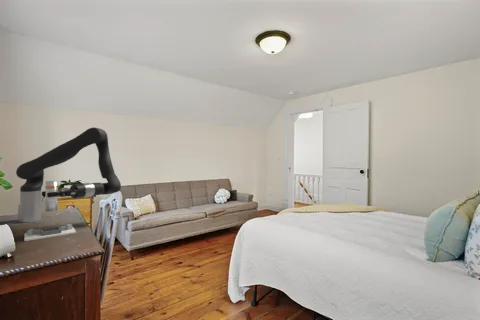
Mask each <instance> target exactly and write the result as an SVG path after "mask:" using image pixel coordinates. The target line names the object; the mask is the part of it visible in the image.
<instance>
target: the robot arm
mask: <svg viewBox="0 0 480 320" xmlns="http://www.w3.org/2000/svg"><path fill="white" fill-rule="evenodd" d="M108 137H109V136H108V133H107V132H106V130H104V129H103V128H98V127H90V128H88V129H86V130H85V131H83V132H81V134H79V135H77V136H75V137H73V138H72V139H70V140H67V141H65V142H64V143H62V144H60V145H58V146H56V147H54V148H52V149H51V150H49V151H47V152H45V153H44V154H42V155H40V156H38V157H36V158H34V159H32V160H29V161H27V162H25V163H22V164H20V165H19V166H18V167H17V169H16V170H15V171H16V172H15V173H16V176H17V178H20V179H22V180H25V182H24V184H22V185H21V186H20V190H19V191H20V195H19V200H20V201H19V204H18V205H17V206H18V209H17V210H18V213H17V214H18V215H17V218H18V219H17V222H19V223H30V222H31V223H32V222H37V221H41V219H42V218H41V217H42V197H45V190H44V191H42V187H43V185H44V179H45V178H44V177H45V172H44V170H45V169H48V168H52V167H54V166H57V165H58V166H59V165H61V164H63V163H65V162H67V161H69V160H71V159H73V158H74V157H76V156H77V155H78V154H79V152H80V151H81V150H83V149H84V148H87V147H88V146H90V145H93V144H94V145H95V146H96V148H97V151H98V160H97V161H98V169H99V172H100V175H101V178H102V179H105V180H106V181H107V182H91V183H90V182H86V183H85V182H84V183H73V184H71V185H70V187H69V188H68V187H63V188H58V191H57V192H48V193H47V197H56V196H57V197H58V198H65V197H71V198H72V199H74V200H75V199H81V198H84V199H85V198H90V197H94V196H100V195H110V194H111V195H112V194H115V193H116V194H117V193H119V191H120V190H121V189H122V185H121V184H122V183H121V182H120V179H119V178H118V176H117V175H116V173H115V170H114V165H113V163H112V159H111V153H110V147H109V138H108Z"/></svg>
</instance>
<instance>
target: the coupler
mask: <svg viewBox="0 0 480 320" xmlns="http://www.w3.org/2000/svg"><path fill="white" fill-rule="evenodd" d="M58 185H59V184H58V180H47V181H45V185H44V188H45V190H44V191H45V196H44V197H45V198H44V199H45V200H44V201H45V206H44V207H45V210H44V211H45V212H56V211H58V203H59V202H58V198H59V197H57V196H56V197H47V193H48V192H57V191H58V189H59V187H58Z"/></svg>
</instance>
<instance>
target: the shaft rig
mask: <svg viewBox="0 0 480 320" xmlns="http://www.w3.org/2000/svg"><path fill="white" fill-rule="evenodd" d="M75 234H77V230H76V228H75V227H74V226H73V224H71V223H66V224H65V225H59V226H52V227H44V228H39V229H35V228H29V229H27V232H25V233H24V237H23V238H24V242H29V241H35V240H36V241H37V240H42V239H48V238H55V237H62V236H68V235H75Z"/></svg>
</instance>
